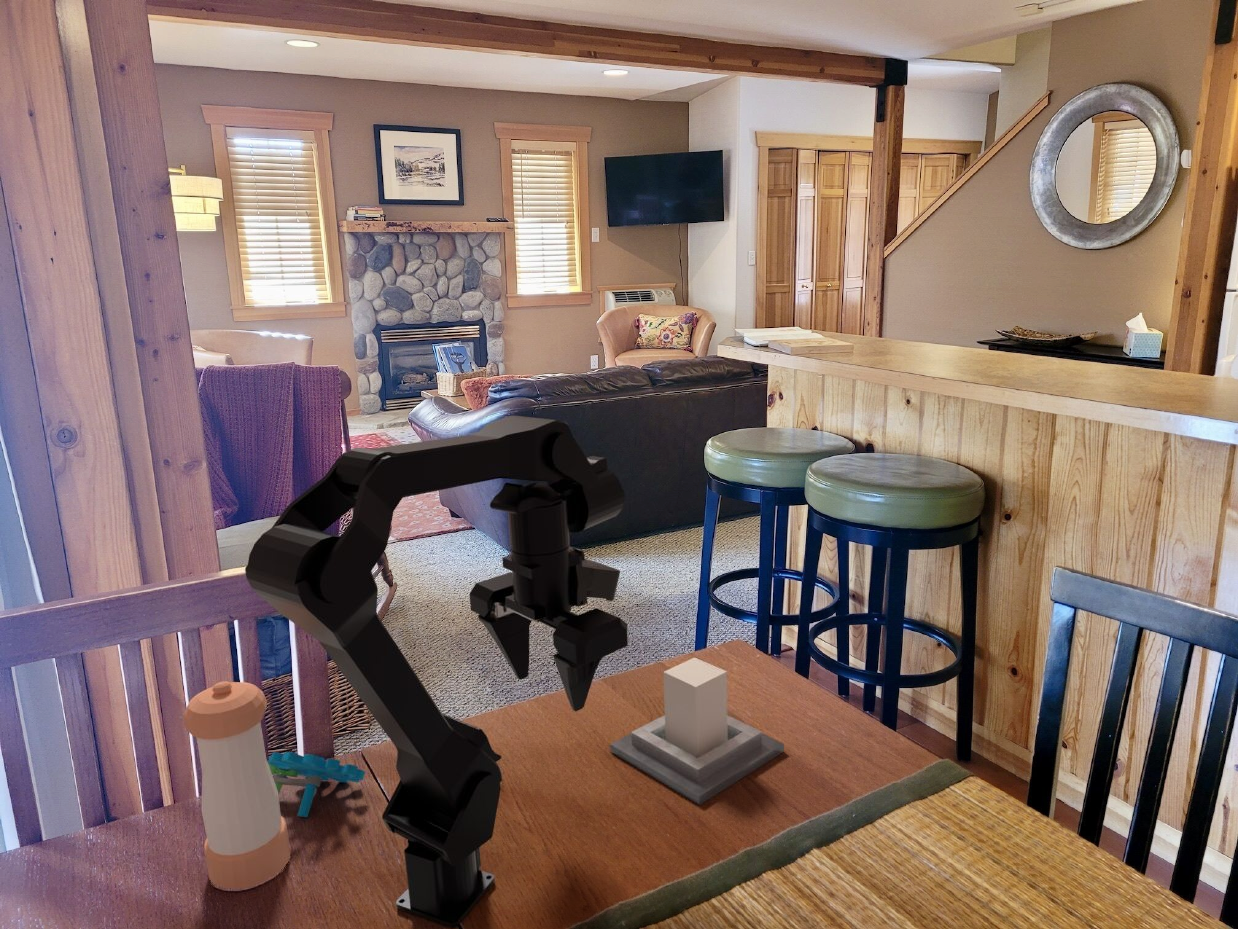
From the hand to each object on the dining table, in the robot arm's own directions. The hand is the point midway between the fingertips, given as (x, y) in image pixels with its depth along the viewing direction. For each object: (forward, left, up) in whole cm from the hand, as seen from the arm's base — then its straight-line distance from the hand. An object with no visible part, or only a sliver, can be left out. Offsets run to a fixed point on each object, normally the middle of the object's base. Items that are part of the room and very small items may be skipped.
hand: (549, 693), depth 86 cm
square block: (+15, -10, -12) cm, 22 cm away
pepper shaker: (-19, +23, -13) cm, 33 cm away
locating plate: (+15, -10, -13) cm, 22 cm away
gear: (-8, +25, -13) cm, 30 cm away
